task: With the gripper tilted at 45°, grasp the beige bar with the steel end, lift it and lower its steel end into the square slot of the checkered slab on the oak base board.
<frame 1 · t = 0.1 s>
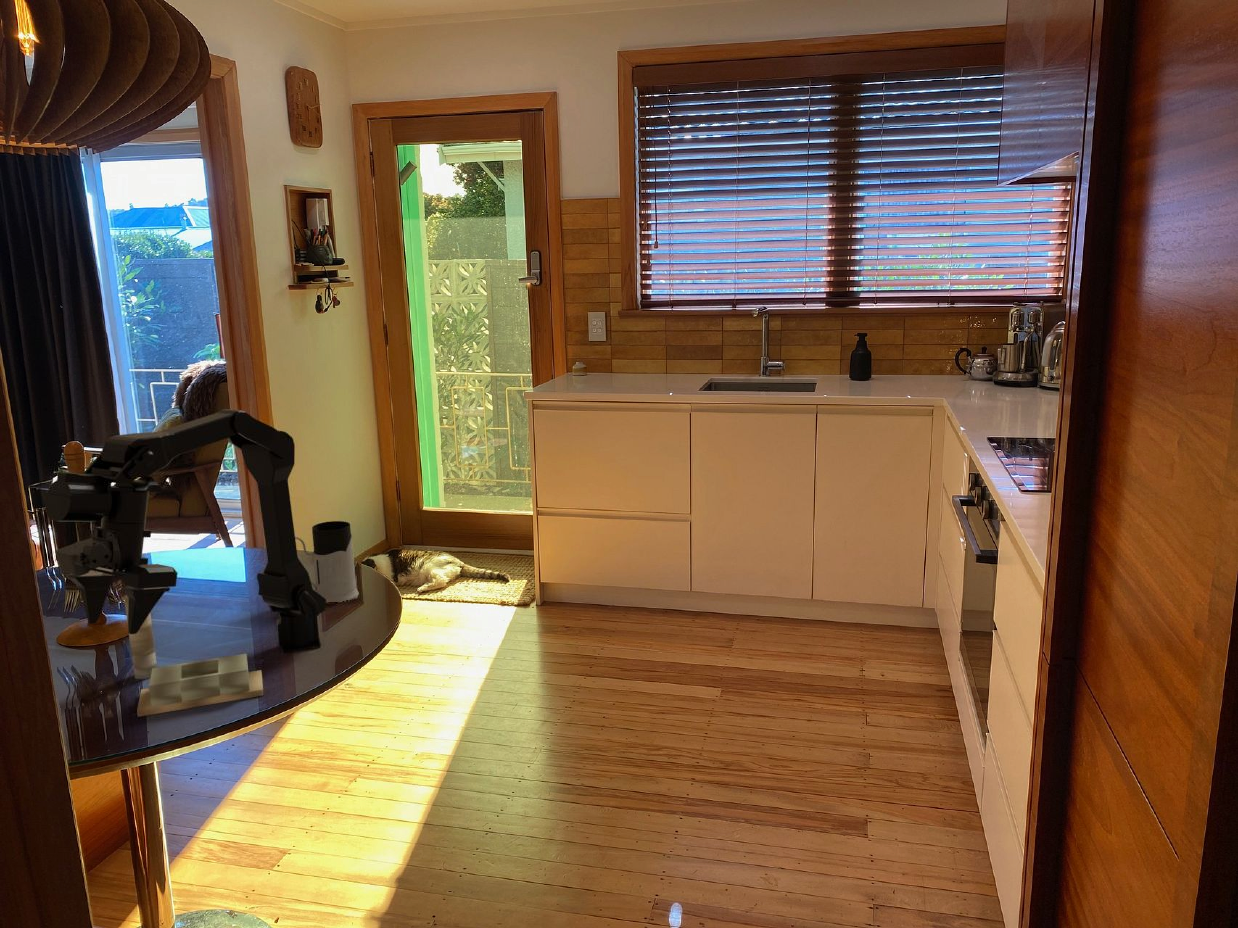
hand: (112, 628, 137), 15 cm above the table, tool pointing down, fingers open, 9 cm apart
checkered slab: (202, 695, 151), on the table
beige bar: (146, 674, 159), on the table
glass holder: (323, 598, 195), on the table
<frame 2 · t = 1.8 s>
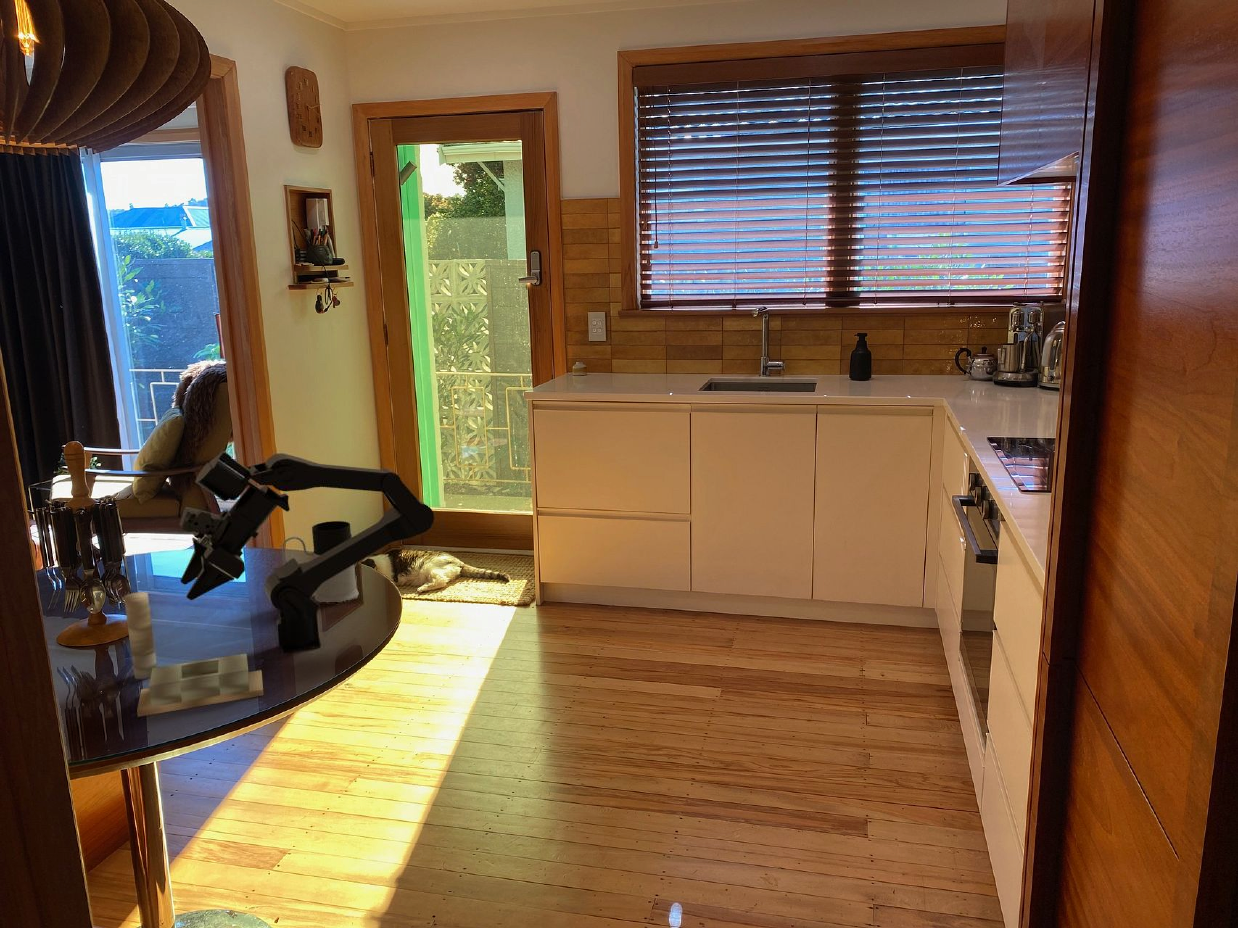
hand: (185, 590, 159), 14 cm above the table, tool tilted 45°, fingers open, 9 cm apart
nothing on the table moved.
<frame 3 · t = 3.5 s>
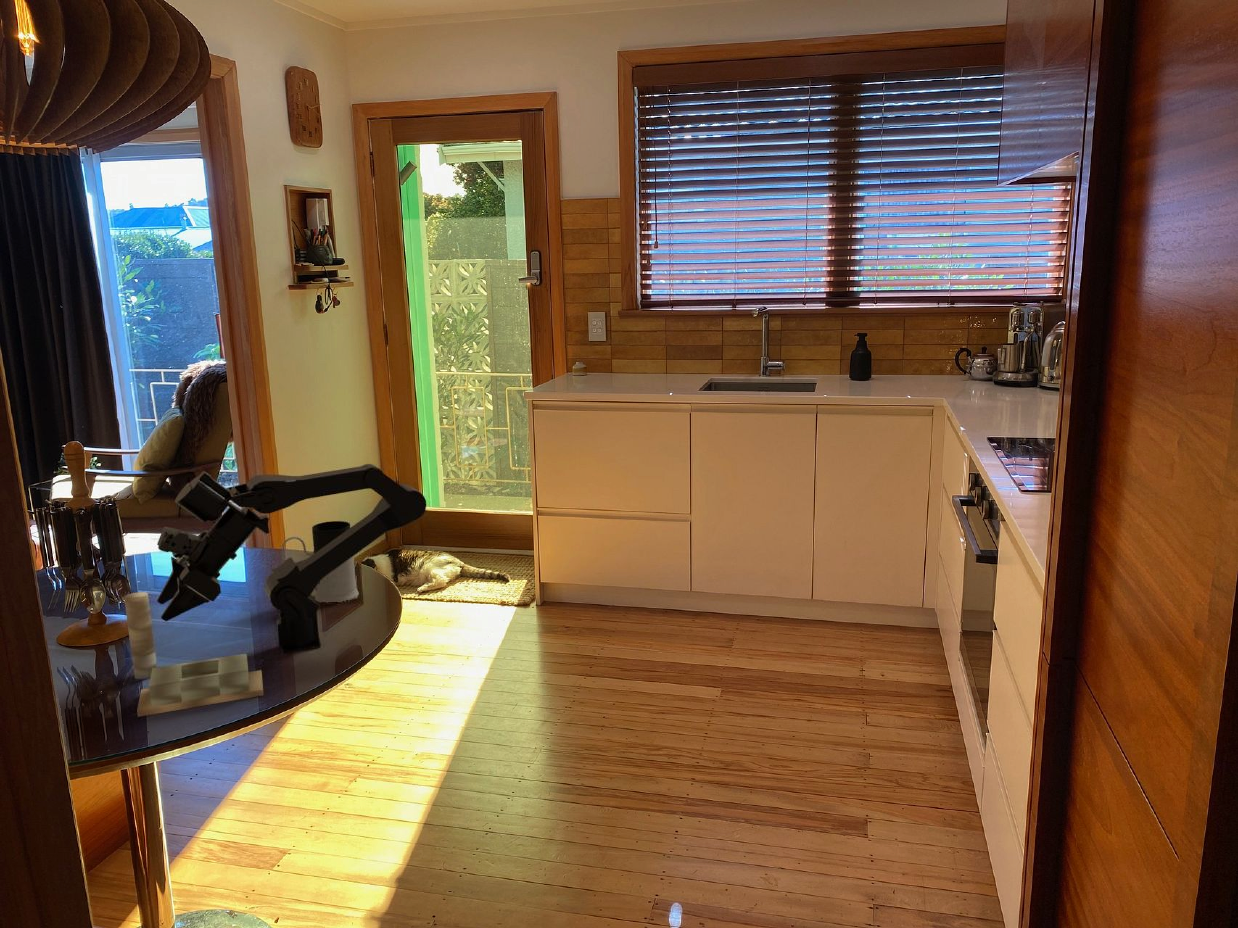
hand: (161, 610, 158), 11 cm above the table, tool tilted 45°, fingers open, 9 cm apart
nothing on the table moved.
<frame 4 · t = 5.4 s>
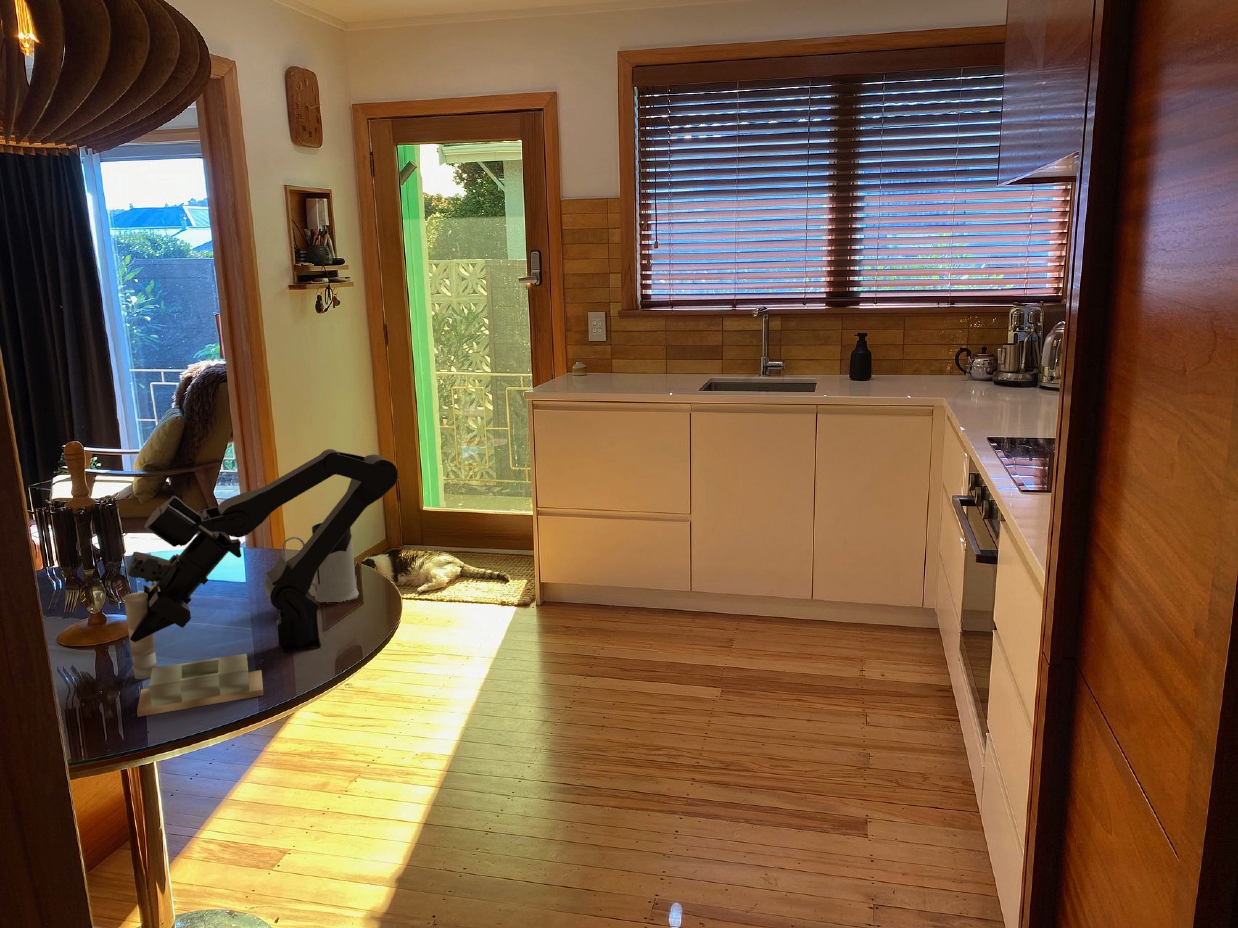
hand: (131, 636, 157), 7 cm above the table, tool tilted 45°, fingers closed on beige bar, 3 cm apart
beige bar: (146, 674, 159), on the table, touching gripper
everything else where it was.
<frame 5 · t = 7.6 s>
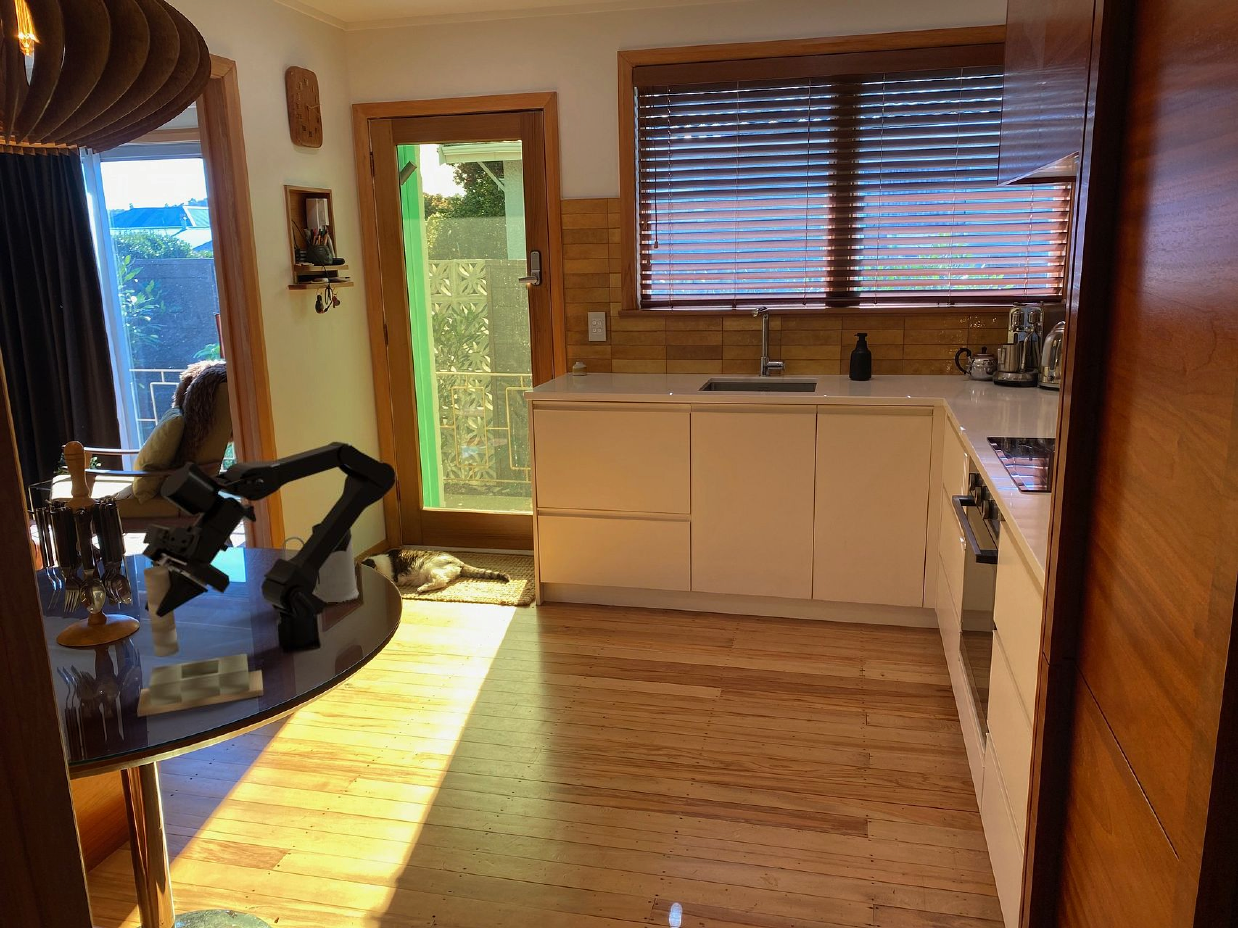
hand: (152, 613, 149), 13 cm above the table, tool tilted 45°, fingers closed on beige bar, 3 cm apart
beige bar: (166, 652, 152), point 6 cm above the table, touching gripper
everything else where it was.
when the fingers open (9 cm above the table, at t = 10.2 s): beige bar drops 1 cm, resting on checkered slab.
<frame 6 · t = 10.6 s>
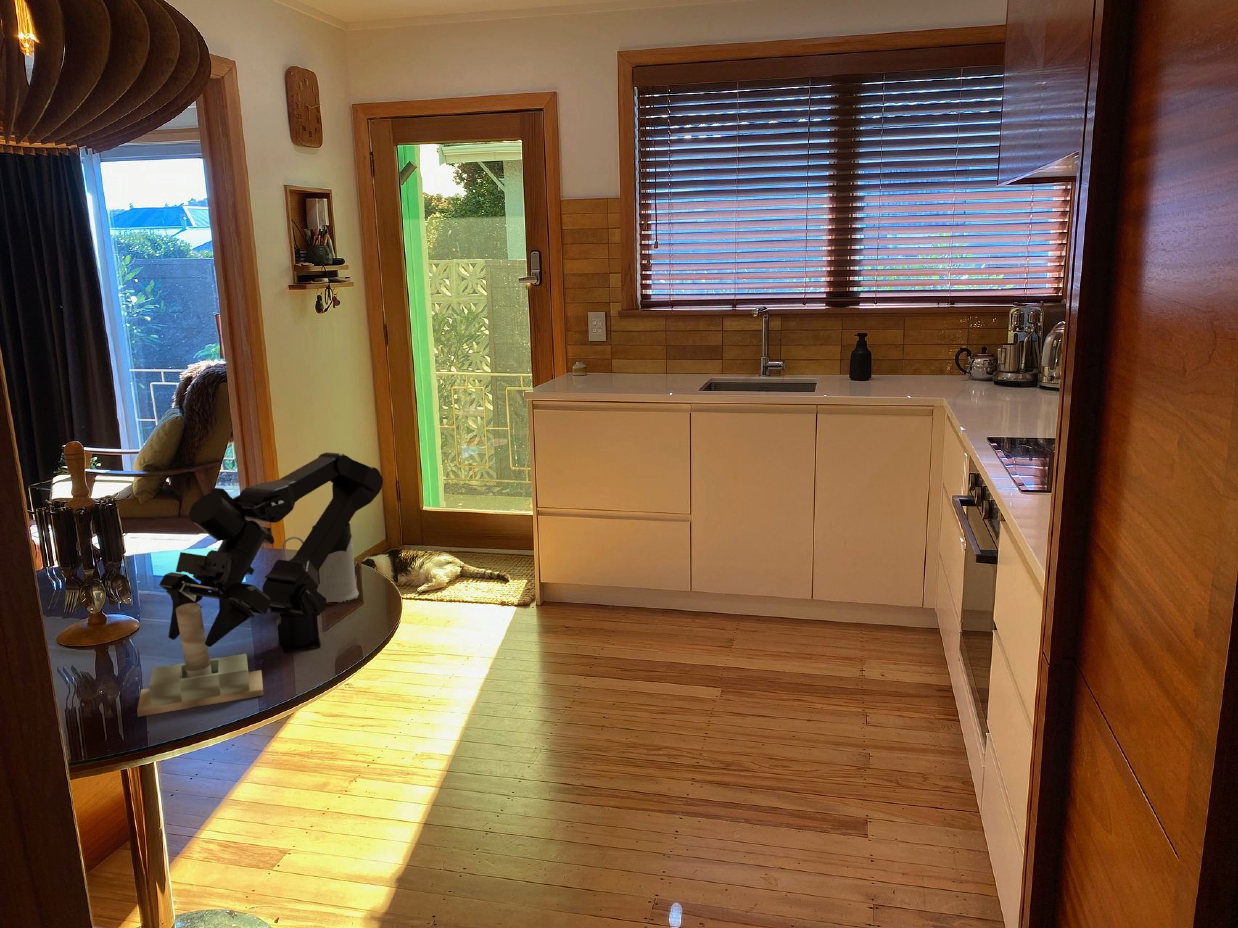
hand: (189, 642, 147), 10 cm above the table, tool tilted 45°, fingers open, 7 cm apart
beige bar: (202, 688, 150), point 1 cm above the table, touching checkered slab
everything else where it was.
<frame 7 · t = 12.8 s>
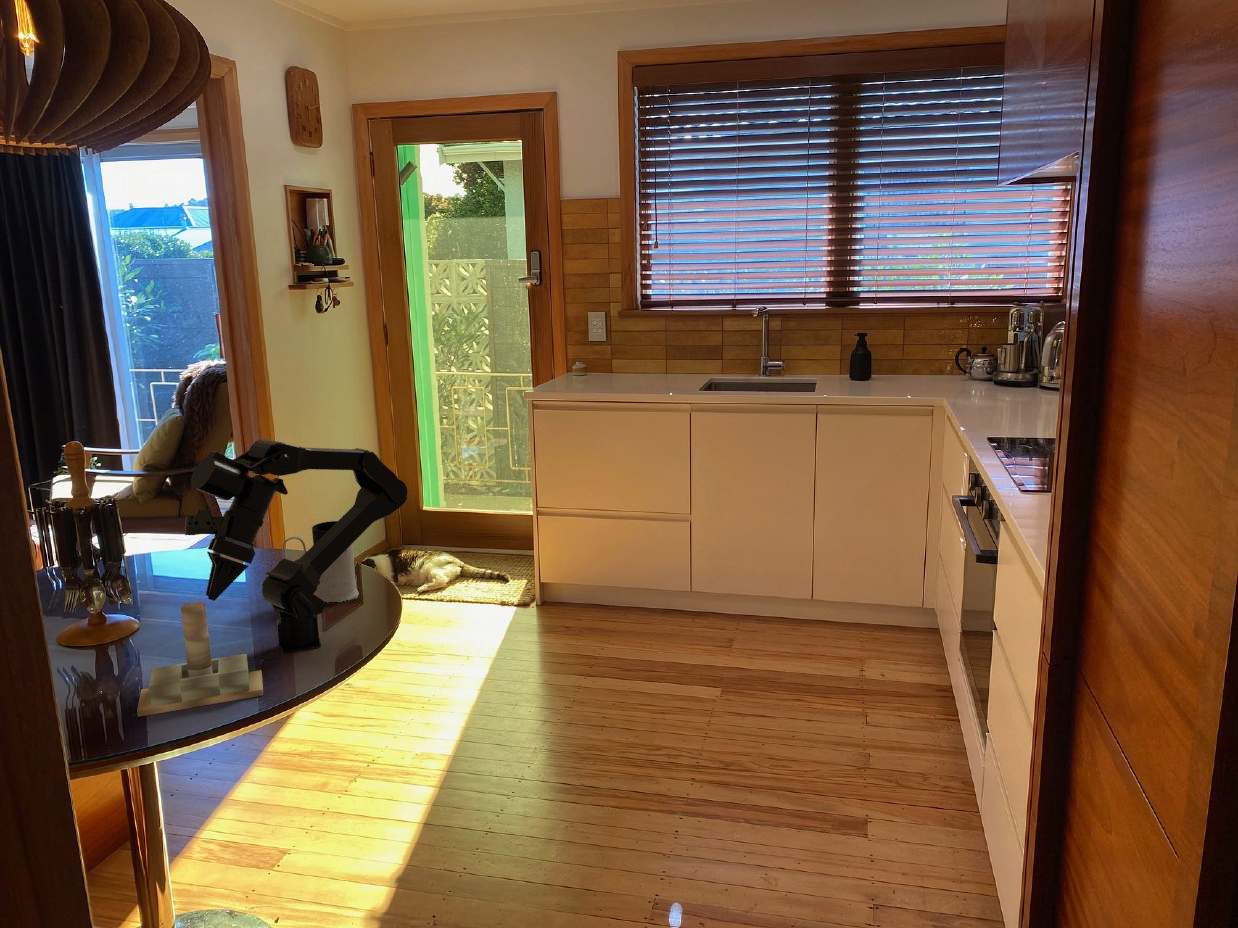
hand: (209, 597, 156), 13 cm above the table, tool tilted 30°, fingers open, 9 cm apart
nothing on the table moved.
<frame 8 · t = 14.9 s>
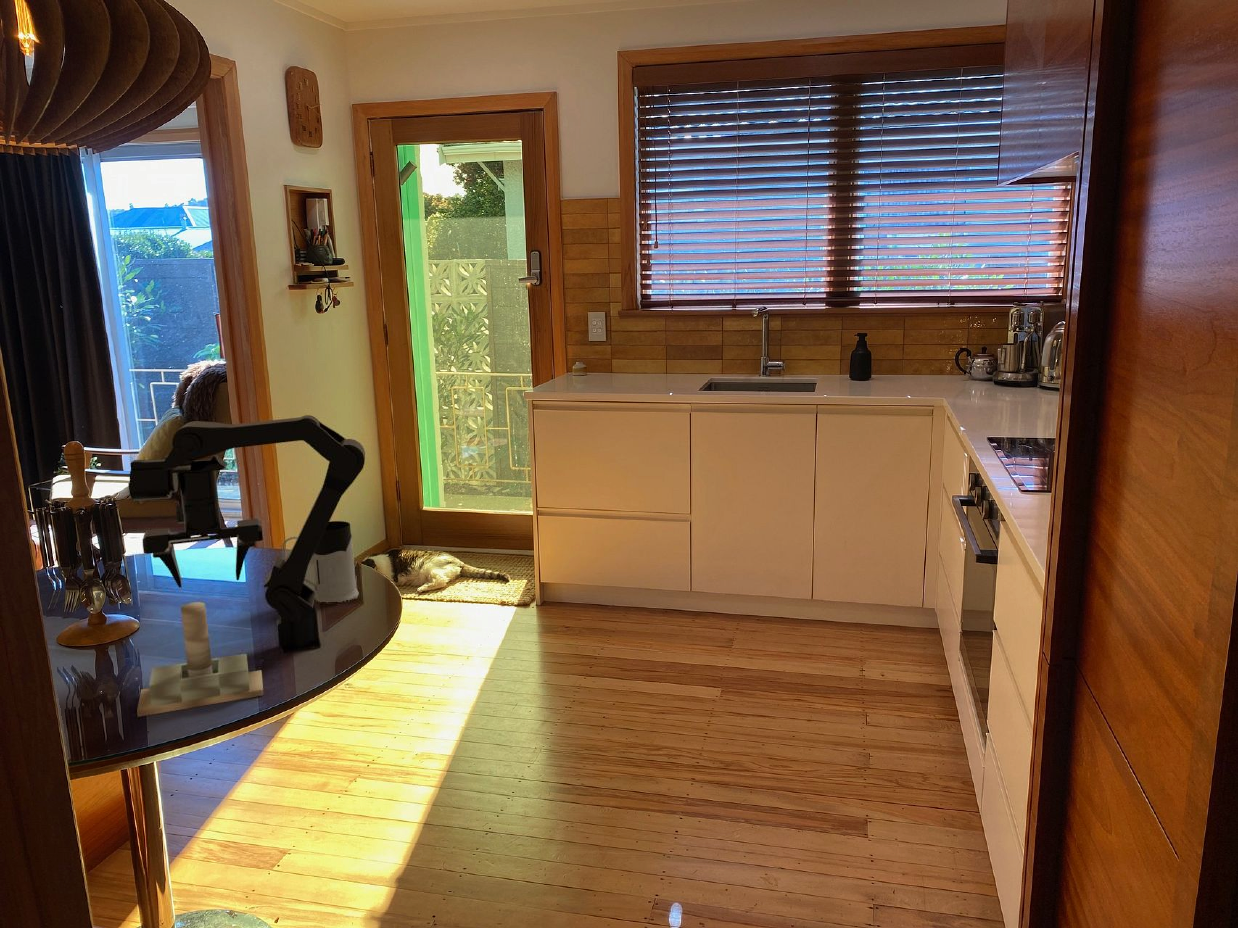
hand: (209, 583, 164), 13 cm above the table, tool pointing down, fingers open, 9 cm apart
nothing on the table moved.
at the end: beige bar 0.1 cm off-centre on the checkered slab, point 1.0 cm above the checkered slab's base; beige bar tilted 1°; the gripper is holding nothing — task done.
